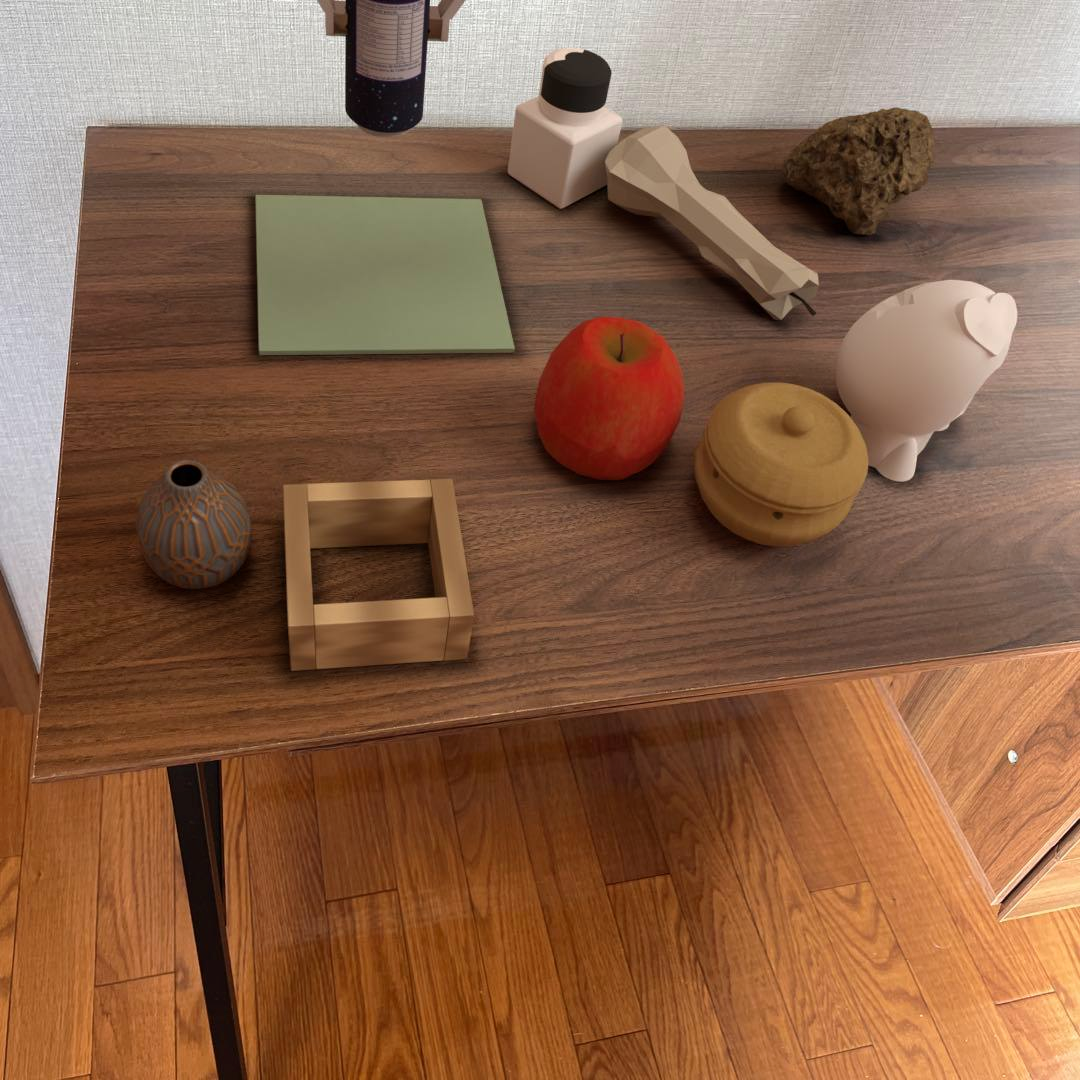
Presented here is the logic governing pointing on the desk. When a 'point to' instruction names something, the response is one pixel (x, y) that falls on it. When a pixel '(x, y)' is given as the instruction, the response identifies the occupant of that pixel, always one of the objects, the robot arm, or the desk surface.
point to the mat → (377, 277)
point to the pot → (780, 463)
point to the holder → (376, 625)
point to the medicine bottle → (565, 129)
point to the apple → (609, 398)
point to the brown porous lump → (863, 164)
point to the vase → (193, 526)
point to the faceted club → (704, 219)
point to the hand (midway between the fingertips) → (387, 35)
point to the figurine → (920, 365)
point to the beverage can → (386, 64)
